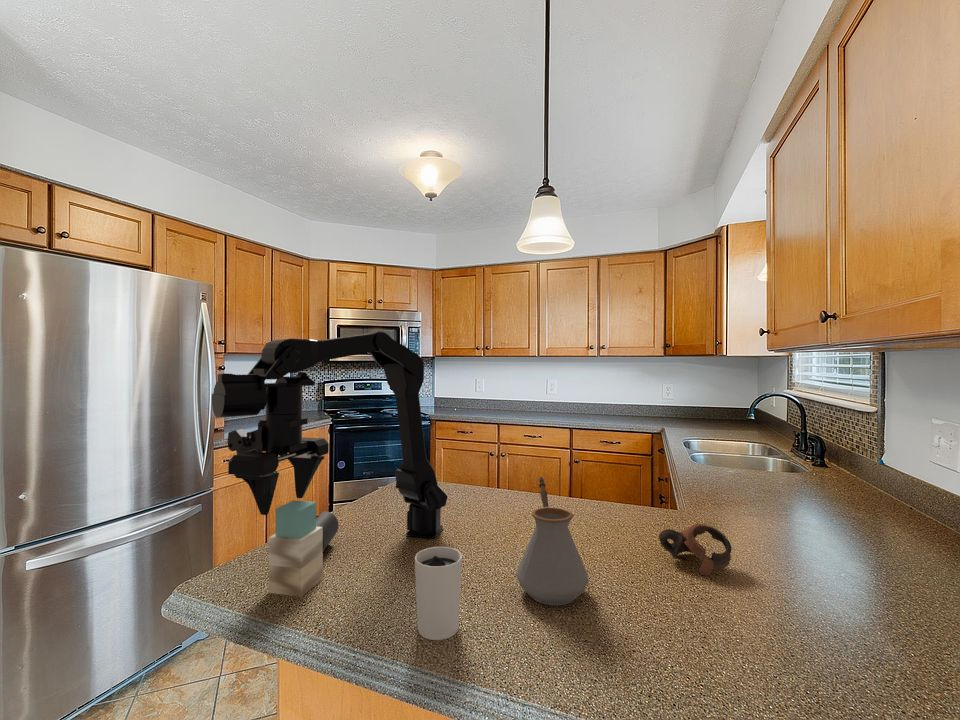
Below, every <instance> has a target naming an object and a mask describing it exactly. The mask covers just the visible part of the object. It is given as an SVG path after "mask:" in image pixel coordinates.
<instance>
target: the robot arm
mask: <svg viewBox="0 0 960 720" xmlns="http://www.w3.org/2000/svg"><path fill="white" fill-rule="evenodd" d="M363 354H370V355H371V356H372V358H373V360H374V362H375V363H376V364H377V365H378V366H379V367H381V368H382V369H383V372H384V375H385V379H386V383H387V385H388V386H389V388H390V389H391V391H392V393H393V394H394V396H395V401H396V402H395V403H396V412H397V419H398V428H399V429H398V430H399V434H400V436H399V437H400V445H401V451H402V463H401V466H400V468H399V469H395V470H394V476H395V481H396V483H395V488H396V489H398V492H399V494H400V495H401V496H402V497H403V500H404V502H405V503H406V504H409V507H408V511H407V512H406V530H407V532H406V533H405V535H406V537H411V538H412V537H413V538H415V537H416V538H426V539H435V538H436V537H437V536H438V535H439V534H440V532H441V531H442V530H443V529H444V525H442V523H441V513H442V512H441V509H442V508H443V507H445V506H446V505H447V501H448V495H447V494H446V493H445V492H444V491H443V489H441V488H440V487H439V486H438V485H439V483H438V480H437V476H436V473H435V470H434V468H433V466H432V464H431V463H430V462H429V460H428V459H427V453H426V447H425V446H426V445H425V437H424V427H423V420H422V412H421V411H422V410H421V402H420V390H421V389H422V386H423V382H424V381H425V363H424V359H423V357H421V356H420V355H419V354H418V353H416V352H413V351H412V350H411V349H410V348H408V346H406V345H403V344H402V343H400V342H398V341H397V340H394V339H393V338H392V337H391V336H390V335H389V334H387V332H384V331H382V330H381V331H368V332H366V333H363V334H356V335H348V336H341V337H336V338H329V339H321V340H320V339H318V340H317V339H309V338H308V339H306V338H283V339H274V340H270V341H268V342H267V343H266V344H265V345H264V347H263V348H262V352H261V353H260V355H261V357H260V358H259V360H258V361H257V362H256V363H255V364H254V366H253V367H252V369H251V370H250V371H249V372H248V373H247V374H233V373H222V372H221V373H218V374H217V381H216V383H215V385H214V388H213V393H211V407H212V412H213V414H214V416H215V417H216V418H217V419H221V418H224V419H225V418H234V417H235V418H236V417H248V416H249V417H250V416H258V415H259V414H260V413H261V410H265V415H264V416H265V418H264V419H259V421H258V422H257V429H255V430H252V431H246V430H245V429H244V428H239V429H235V430H232V431H229V432H228V433H227V434H228V435H227V448H228V450H229V451H230V452H236V454H233V455H232V456H231V457H230V459H229V460H228V462H227V463H228V464H227V467H228V468H227V473H228V475H234V477H235V478H236V479H241V480H242V481H244V482H245V483H247V485H248V486H249V489H250V491H251V493H252V495H253V499H254V500H255V503H256V506H257V509H258V511H259V515H262V516H267V515H268V514H269V513H270V509H271V506H272V502H273V499H274V495H275V491H276V486H277V484H278V479H279V475H280V472H276V471H277V469H278V468H279V466H280V465H279V462H282V461H286V460H288V461H289V463H290V464H291V466H292V467H293V474H294V489H295V490H294V491H295V496H296V499H303V498H304V496H305V494H306V492H307V490H308V487H309V486H310V484H311V481H312V480H313V478H314V476H315V474H316V471H317V470H318V468H319V466H320V464H321V463H322V462H323V460H325V455H327V454H329V449H330V448H329V445H330V444H329V442H328V441H327V440H326V439H325V438H324V437H303V426H304V425H308V418H307V417H303V387H306V386H307V387H309V386H310V387H312V386H315V385H316V381H315V380H313V379H312V378H311V377H309V375H308V374H307V372H306V371H305V372H303V371H304V370H307V369H310V368H313V367H315V366H317V365H319V364H320V363H322V362H325V361H329V360H336V359H339V358H345V357H346V358H347V357H351V356H358V355H363ZM296 373H297V374H296ZM288 374H296V375H294V376H287V375H288ZM266 380H275V382H266Z"/></svg>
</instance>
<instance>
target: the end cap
mask: <svg viewBox="0 0 960 720" xmlns="http://www.w3.org/2000/svg"><path fill="white" fill-rule="evenodd" d="M316 527H323V552H324V551H325V549H326V548H327V546H329V544H330V542H332V540H333V538H334V537H335V536H336V534H337V533H338V530H339V521H338V519H337V517H336V516H335V515H334V514H333V513H332V512H330V511H326V510H323V511H322V512H321V513H320V514H319V515H316Z"/></svg>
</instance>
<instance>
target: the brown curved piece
mask: <svg viewBox="0 0 960 720" xmlns="http://www.w3.org/2000/svg"><path fill="white" fill-rule="evenodd" d="M706 532H707V533H708V534H710V536H711V538H712V539H713V540H715V541H719V542H721V543H722V545H723V546H724V549H725V551H723V552H721V553H716V552H712V553H711V557H709V556H707V555H706V552H707V550H706V548H705V547H704V546H703V545H702V544H699V542H698V541H697V539H696V537H697V536H700V535H703V534H705V533H706ZM658 540H659V543H660V545H661V546H662V547H663V549H664V550H665V551H667V552H668V553H670V555H671V556H672V558H673V559H675V560H676V559H677V557H678V555H679V554H681V553H685V552H688V553H691V554H694V555H695V557H697V558H698V559H699V560H700V561H701V565H700V567H699V568H698V573H699V574H701V575H703V576H706V577H709V575H711V574H712V573H715V572H717V571H718V572H719V571H721V570H723V569H725V568H726V567H728V566H729V565H730V562H731V559H732V556H731V553H732V550H733V549H732V545H731V542H730V541H729V539H728V538H727V537H726V536H725V534H723V532H721V531H719V530H718V529H717V528H715V527H713V526H710V525H708V524H703V523H702V524H701V523H697V524H692V525H691V526H690V527H688V528H685V529H683V530H682V531H676V530H674V529H672V528H666V529H663V530H662V531H660V533H659V535H658ZM669 540H671V541H673V543H671V542H669Z"/></svg>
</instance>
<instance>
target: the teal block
mask: <svg viewBox="0 0 960 720" xmlns="http://www.w3.org/2000/svg"><path fill="white" fill-rule="evenodd" d="M316 516H317V502H316V501H307V500H296V499H295V500H294V499H292V500H291V501H289V502H286V503H285V504H282V505H280V506H278V507H276V508H275V534H276V536H280V537H290V538H302V537H303V536H305V535H306V534H308V533H310V532H311V531H313V530H314V529H316Z"/></svg>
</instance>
